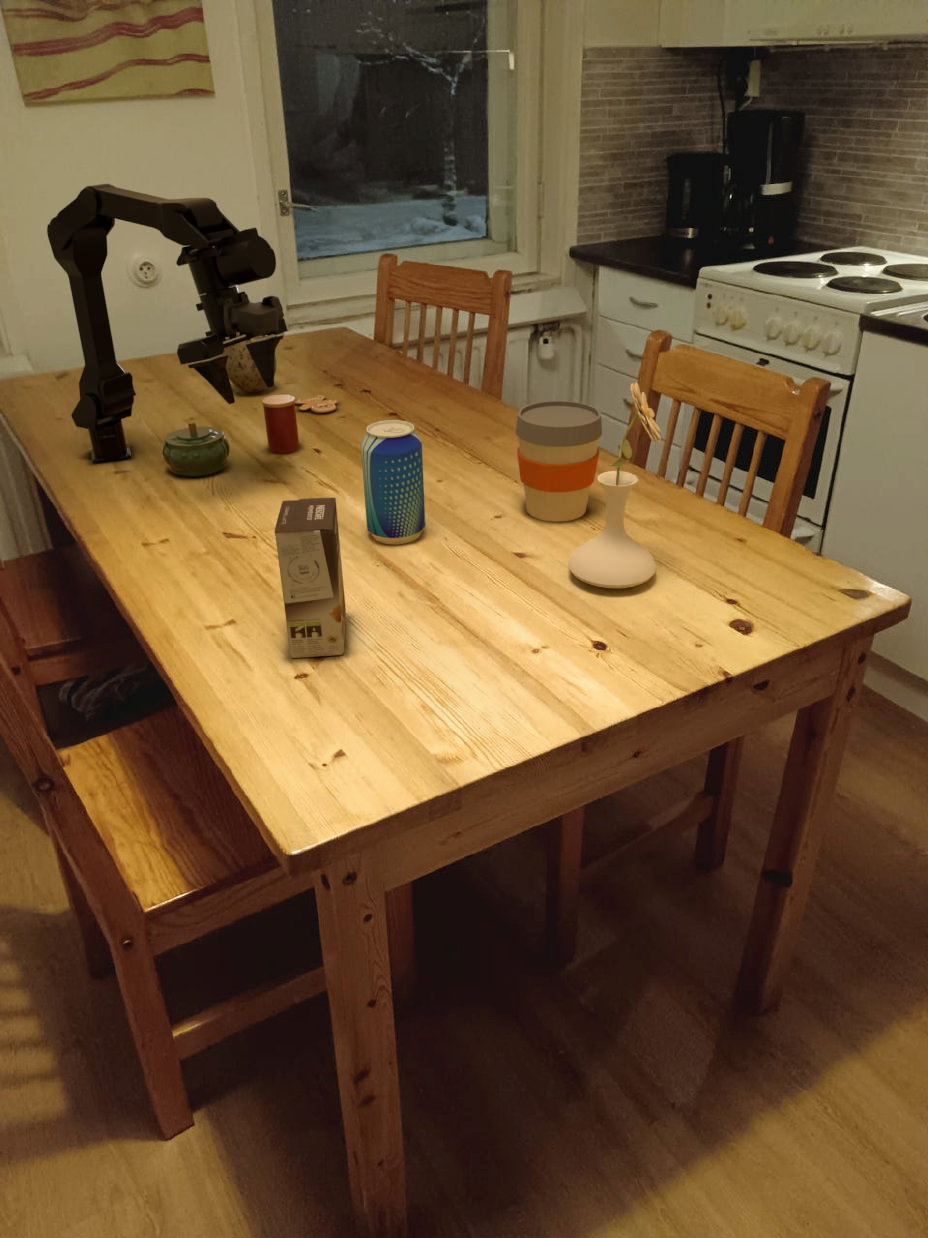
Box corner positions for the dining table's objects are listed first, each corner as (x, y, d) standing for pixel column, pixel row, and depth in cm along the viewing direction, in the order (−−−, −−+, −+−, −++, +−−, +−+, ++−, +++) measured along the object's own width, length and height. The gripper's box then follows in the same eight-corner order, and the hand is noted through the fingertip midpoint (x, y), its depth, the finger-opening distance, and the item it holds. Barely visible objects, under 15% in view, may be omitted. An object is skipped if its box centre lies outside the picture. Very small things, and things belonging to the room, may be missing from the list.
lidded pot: (163, 462, 166) (154, 417, 162) (227, 453, 169) (220, 408, 165) (169, 484, 157) (160, 437, 153) (237, 474, 160) (230, 428, 156)
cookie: (325, 392, 196) (347, 403, 189) (325, 396, 197) (347, 408, 189) (287, 399, 192) (309, 411, 185) (288, 404, 193) (309, 416, 185)
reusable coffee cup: (552, 486, 153) (554, 394, 146) (614, 508, 145) (621, 412, 138) (497, 510, 146) (497, 414, 138) (560, 534, 138) (564, 434, 130)
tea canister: (265, 445, 172) (259, 396, 168) (296, 441, 174) (290, 392, 169) (271, 456, 168) (265, 405, 163) (303, 451, 169) (297, 401, 165)
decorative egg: (254, 380, 208) (245, 309, 200) (290, 388, 202) (282, 316, 194) (216, 393, 200) (205, 320, 192) (252, 402, 195) (242, 327, 187)
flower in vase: (634, 605, 120) (650, 410, 107) (552, 583, 125) (558, 395, 112) (672, 564, 129) (691, 380, 117) (595, 545, 134) (605, 368, 122)
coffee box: (345, 656, 111) (333, 529, 103) (289, 659, 110) (273, 532, 102) (347, 616, 119) (336, 495, 111) (295, 619, 118) (280, 498, 110)
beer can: (381, 551, 134) (373, 442, 126) (358, 529, 141) (350, 424, 133) (435, 538, 137) (431, 431, 129) (410, 517, 144) (405, 414, 136)
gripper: (212, 293, 130) (250, 406, 136) (297, 269, 144) (328, 372, 150) (157, 307, 136) (195, 414, 142) (244, 282, 150) (275, 381, 156)
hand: (251, 394), depth 147 cm, fingers open, 9 cm apart
